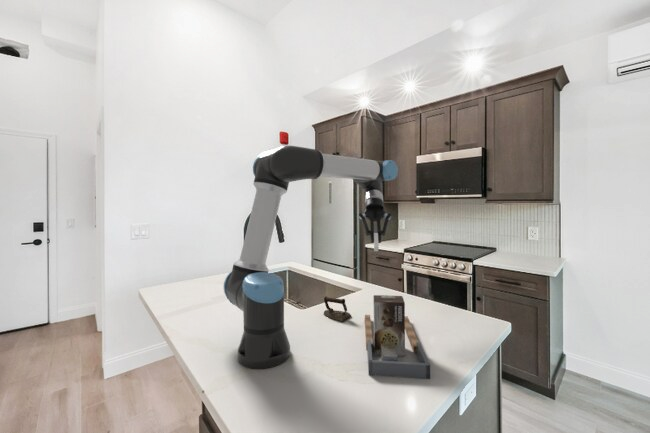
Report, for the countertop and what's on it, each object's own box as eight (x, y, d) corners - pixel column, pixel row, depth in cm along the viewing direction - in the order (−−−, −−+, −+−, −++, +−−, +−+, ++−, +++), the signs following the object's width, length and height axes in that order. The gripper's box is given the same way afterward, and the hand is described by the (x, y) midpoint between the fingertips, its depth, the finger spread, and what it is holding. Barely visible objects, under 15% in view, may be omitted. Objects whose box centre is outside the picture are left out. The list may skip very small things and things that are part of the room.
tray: (430, 378, 76) (430, 365, 76) (368, 375, 78) (368, 361, 78) (419, 353, 89) (419, 341, 89) (367, 350, 91) (367, 339, 91)
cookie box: (402, 346, 93) (403, 295, 93) (405, 356, 87) (405, 302, 86) (373, 344, 95) (373, 294, 94) (373, 354, 88) (373, 301, 88)
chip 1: (395, 363, 84) (395, 349, 83) (381, 362, 84) (381, 348, 84) (394, 356, 87) (394, 343, 87) (380, 355, 88) (380, 342, 88)
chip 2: (397, 371, 80) (397, 357, 79) (382, 370, 80) (382, 356, 80) (396, 363, 84) (396, 349, 83) (381, 362, 84) (381, 348, 84)
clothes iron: (344, 324, 112) (337, 298, 112) (320, 324, 118) (314, 300, 118) (353, 316, 117) (346, 292, 117) (329, 317, 124) (323, 294, 124)
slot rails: (420, 353, 89) (420, 346, 89) (366, 350, 91) (366, 344, 91) (407, 321, 113) (407, 316, 113) (364, 319, 115) (364, 314, 114)
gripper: (389, 209, 127) (393, 255, 111) (358, 209, 128) (358, 254, 112) (390, 196, 121) (395, 243, 105) (358, 196, 123) (358, 242, 107)
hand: (376, 249), depth 109 cm, fingers closed
